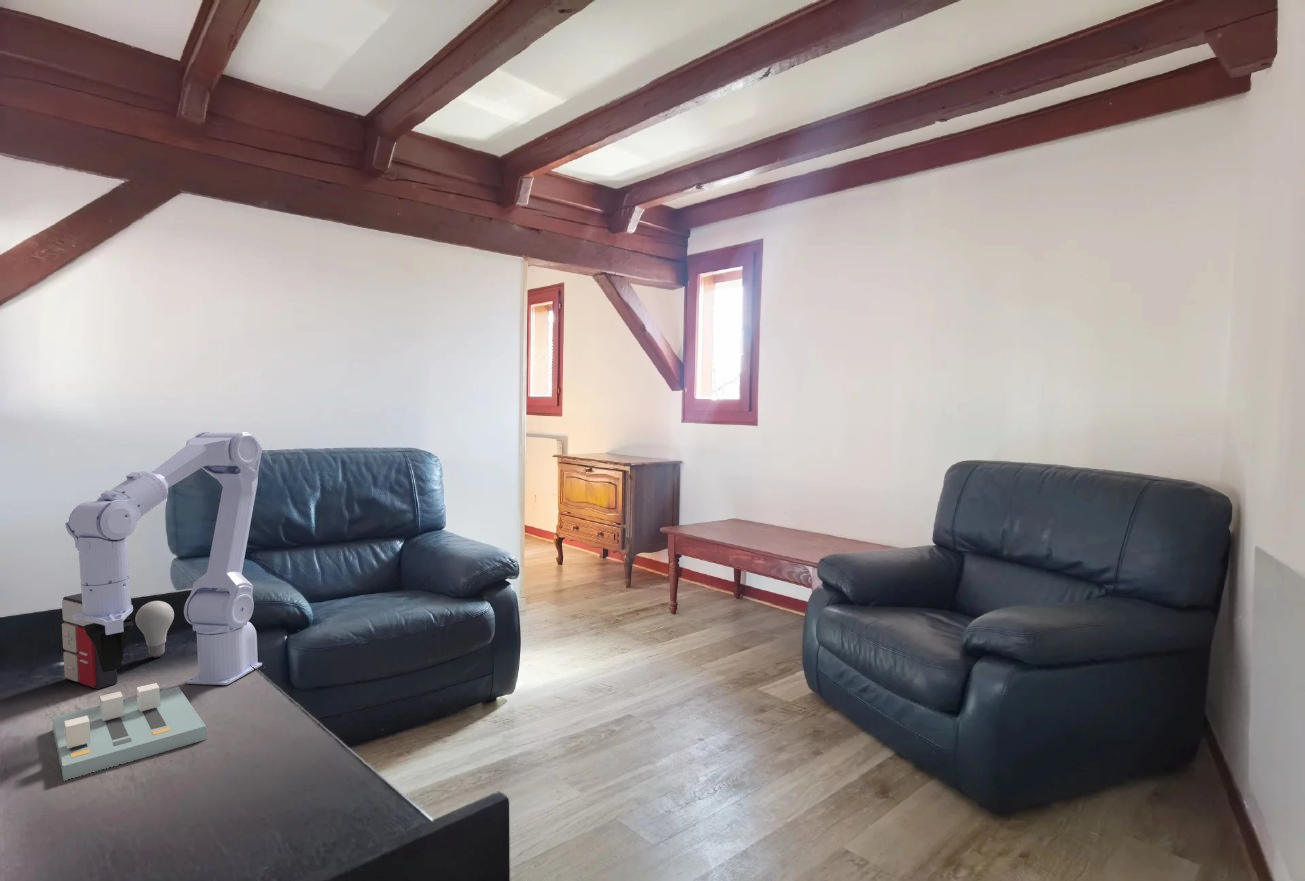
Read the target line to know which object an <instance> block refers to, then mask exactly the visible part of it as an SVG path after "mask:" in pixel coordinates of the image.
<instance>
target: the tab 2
mask: <svg viewBox="0 0 1305 881" xmlns="http://www.w3.org/2000/svg"><path fill="white" fill-rule="evenodd" d="M123 700H124V696H123V693H122V692H121V690H120V691H116V692H112V693H108V694H104V695H100V696H99V706H100V711H101V718H102V720H103V721H105V720H109V719H113V718H117V717H121V716H124V708H123Z"/></svg>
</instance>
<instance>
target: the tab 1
mask: <svg viewBox="0 0 1305 881" xmlns="http://www.w3.org/2000/svg"><path fill="white" fill-rule="evenodd" d="M64 724H65V742H66V746H67V749H68V748H71V747H75V746H79V745H83V744H86V743H90V742H91V740H90V722H89V718H88V715H87V716H83V717H79V718H75V719H71V720H67V721H64Z"/></svg>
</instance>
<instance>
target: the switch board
mask: <svg viewBox="0 0 1305 881" xmlns="http://www.w3.org/2000/svg"><path fill="white" fill-rule="evenodd" d="M159 693H160V707H156V708H152V709H148V710H144V711H141V712H140V710H139V708H138V703H137V696H135V697H131V698H130V697H129V698H126V699H123V708H124V716H121V717H117V718H113V719H109V720H105V721H103V720H102V718H101V711H100V705H97V706H93V707H90V708H85V709H81V710H76V711H72V712H68V713H64V714H59V715H56V716H53V717H51V718H52V720H51V722H52V732H53V736H54V737H53V738H54V743H55V746H56V751H57V757H58V756H59V757H58V761H59V765H60V770H62V771H61V776H62V779H63V782H66V781H69V780H68V779H70V780H72V779H71V778H73V779H75V778H74V777H77V778H79V777H78V776H80V777H82V776H81V775H83V776H86V775H85V774H87V773H90V774H92V773H91V772H93V771H97V772H99V771H98V770H100V771H102V770H101V769H104V770H106V768H107V769H110V768H109V767H111V768H114V767H116V766H117V767H118V766H120V765H119V764H121V765H123V764H124V765H125V764H127V762H128V763H130V762H134V760H135V761H137V760H141V759H144V758H148V757H151V756H155V755H158V754H161V753H165V752H168V751H171V750H175V749H178V748H181V747H186V746H188V745H189V746H190V745H192V744H195V743H198V742H202V741H206V740H207V739H208V737H207V725H206V724H205V723H204V721H203V720H202V718H201V717H200V715H199V713H198V712H197V711H196V709H195V708H194V707H193V705H192V704H191V703H190V701H189V699H188V698H187V697H186V695H185V694H184V693H183V691H182V690H181V688H180V686H176V687H171V688H168V689H167V688H166V689H164V690H163V689H162V690H159ZM87 715H88V718H89V722H90V740H91V742H90V743H86V744H83V745H79V746H75V747H71V748H68V749H67V746H66V742H65V724H64V721H67V720H71V719H75V718H79V717H83V716H87ZM113 766H114V767H113ZM87 775H88V774H87ZM65 780H66V781H65Z"/></svg>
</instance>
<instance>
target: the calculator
mask: <svg viewBox="0 0 1305 881" xmlns="http://www.w3.org/2000/svg"><path fill="white" fill-rule="evenodd" d="M61 610H62V620H63V622H62V623H61V633H62V634H61V635H62V637H61V638H62V648H63V650H65V651H63V652H62V653H63V666H64V667H63V669H64V671H63V672H64V678H65V679H67V680H70V681H74V682H76V683H78V684H82V685H85V686H87V687H91V688H94V689H96V690H100V689H102V688H106V687H110V686H113V685H116V684H117V683H118V669H117V670H113V671H108V672H103V671H102V669H101V666H100V664H99V661H98V657H97V653H96V650H95V647H94V644H93V642H92V640H91V639H90V638H89V637H88V635H87V634H86V632H85V630H84V628H83V627H84V626H85V625H88V624H92V623H93V622H89V621H84V620H80V621H73V614H76V613H81V612H83V607H82V592H81V593H76V594H72V595H65V596H63V597H62V600H61Z"/></svg>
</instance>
